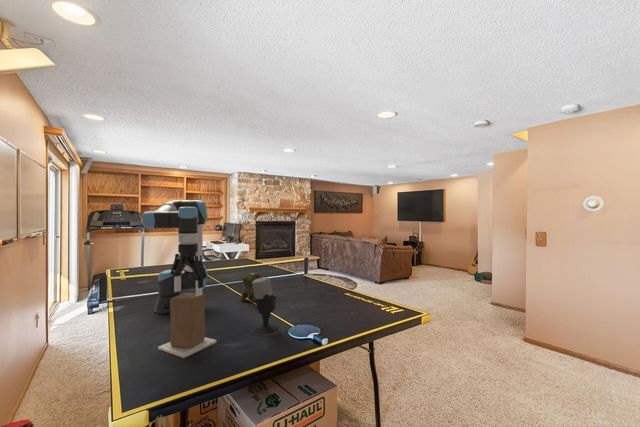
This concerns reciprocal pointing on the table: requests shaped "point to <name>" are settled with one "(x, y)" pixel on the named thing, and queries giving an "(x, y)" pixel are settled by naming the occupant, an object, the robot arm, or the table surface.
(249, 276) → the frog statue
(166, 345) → the tile
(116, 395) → the table surface
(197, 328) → the wooden block
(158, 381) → the table surface
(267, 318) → the microphone
